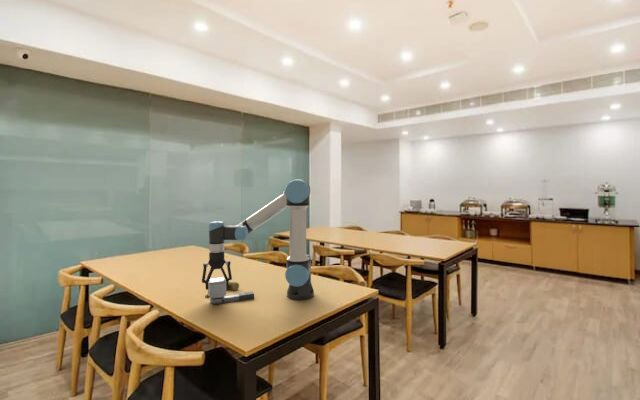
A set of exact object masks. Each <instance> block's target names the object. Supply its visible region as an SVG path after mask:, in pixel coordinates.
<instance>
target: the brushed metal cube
mask: <svg viewBox="0 0 640 400" xmlns="http://www.w3.org/2000/svg"><path fill="white" fill-rule="evenodd" d="M209 283H210V297H209V299H210V298H215V297H223V296H227V289H226V286H225V277H224V276H221V277H210V280H209Z"/></svg>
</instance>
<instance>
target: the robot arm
mask: <svg viewBox="0 0 640 400" xmlns="http://www.w3.org/2000/svg"><path fill="white" fill-rule="evenodd" d="M310 194H311V186H310V185H309V182H307V181H305V180H304V179H301V178H300V179H299V178H297V179H292V180H291V181H289V182H288V183H287V184H286V186H285V189H284V191H283V193H282V194H280V195H279V196H278V197H276V198H274V200H272V201H270V202H269V203H268V204H266V205H264V206H263V207H262V208H260V209H259V210H257V211H255V212H254V213H253V214H251V215H250V216H249V217H247V218H245V219H244V220H243V221H241V222H239V223H238V224H235V225H227V224H226V225H225V222H224V221H211V222H209V224H208V225H209V226H208V244H209V247H208V251H209V253H208V256H209V257H208V262H203V263H202V265H203V269H202V276H201V282H202V284H205V290H206V291H207V294H208V296H210V283H209V280H210V278H212V274H213V273H214V270H220V271H221V273H222V275H223V277H224V279H225V286H226V287H228V281H229V282H230V281H231V280H233V276H232V270H231V263H232V262H231V261H230V260H226V259H225V241H239V242H240V241H246V240H247V239H248V236H249V234H250V233H252V232H253V231H255V229H257V228H260V227H261V226H262V225H263V224H265V223H267V222H268V221H269V220H271V219H272V218H274V217H275V216H276V215H279V213H281V212H283V211H285V210H287V208H288V209H289V210H288V211H289V222H288V223H289V255H288V257H286V270H285V273H284V274H285V275H284V276H285V280H286V282H287V283H288V288H287V290H286V297H288V299H291V300H298V301H299V300H301V301H302V300H309V299H312V298H313V297H314V296H315V291H314V288H313V284H312V280H311V279H312V272H311V271H312V268H311V267H312V256H311V254H307V209H308V208H309V207H310ZM224 265H225V266H226V268H227V274H228V276H227V274H226V272H225V269H224ZM209 266H210V269H209V271H208V273H207V268H208V267H209ZM206 276H207V277H206Z"/></svg>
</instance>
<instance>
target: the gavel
mask: <svg viewBox="0 0 640 400" xmlns="http://www.w3.org/2000/svg"><path fill="white" fill-rule="evenodd" d="M239 288H240V283H238V282H235V281H234V282H233V281H230V280H229V281H228V287H226V290H227V289H229V290H232V291H237V290H238V289H239ZM204 297H205V298H210V296H208V293H207V294H206V295H204Z"/></svg>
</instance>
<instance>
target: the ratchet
mask: <svg viewBox="0 0 640 400" xmlns="http://www.w3.org/2000/svg"><path fill="white" fill-rule="evenodd" d="M254 299H255V293H254V292H253V291H247V292H238V293H237V294H231V295H226V296H223V297H215V298H210V297H209V300H210V305H211V304H212V306H220V305H223V304H225V303H226V304H227V303H233V302H238V301H248V300H249V301H250V300H254Z"/></svg>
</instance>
